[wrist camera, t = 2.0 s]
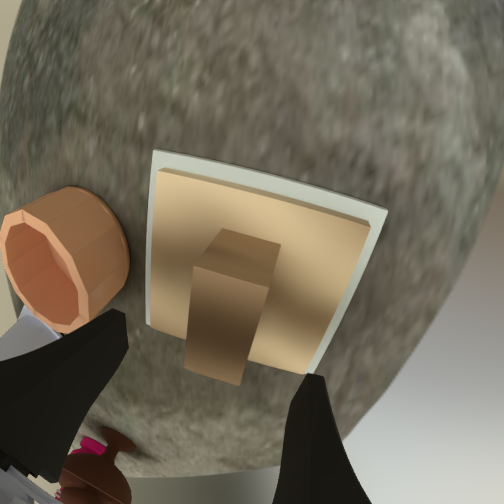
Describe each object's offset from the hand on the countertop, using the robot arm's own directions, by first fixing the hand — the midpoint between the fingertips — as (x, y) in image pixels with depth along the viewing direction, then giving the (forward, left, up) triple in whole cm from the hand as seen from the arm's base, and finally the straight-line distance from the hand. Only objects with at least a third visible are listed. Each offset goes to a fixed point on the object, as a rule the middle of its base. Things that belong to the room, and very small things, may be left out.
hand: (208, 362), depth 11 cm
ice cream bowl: (-33, -11, -7) cm, 36 cm away
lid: (0, 0, -6) cm, 6 cm away
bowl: (-8, +8, -6) cm, 13 cm away
